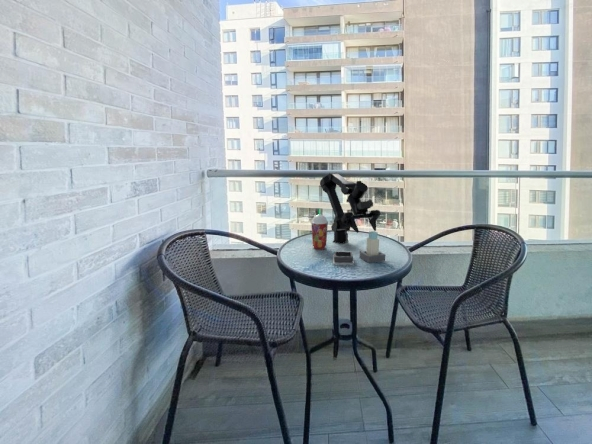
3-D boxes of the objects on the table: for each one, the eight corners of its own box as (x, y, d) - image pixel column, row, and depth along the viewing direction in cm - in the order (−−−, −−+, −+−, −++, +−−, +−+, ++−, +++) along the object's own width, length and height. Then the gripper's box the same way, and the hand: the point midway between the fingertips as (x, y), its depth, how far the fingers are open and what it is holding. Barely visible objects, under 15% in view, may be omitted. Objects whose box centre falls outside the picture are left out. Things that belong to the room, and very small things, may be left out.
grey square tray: (359, 257, 191) (359, 251, 190) (375, 255, 193) (375, 249, 193) (368, 263, 183) (369, 256, 182) (385, 260, 186) (385, 254, 185)
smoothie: (329, 246, 210) (329, 208, 205) (325, 250, 202) (325, 211, 197) (313, 245, 212) (313, 207, 208) (309, 249, 205) (309, 210, 200)
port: (333, 258, 190) (333, 251, 189) (352, 258, 189) (352, 251, 188) (333, 264, 181) (333, 257, 180) (353, 265, 180) (354, 257, 180)
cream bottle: (366, 258, 189) (367, 231, 186) (373, 257, 191) (374, 230, 188) (370, 261, 186) (371, 233, 183) (378, 260, 187) (379, 232, 184)
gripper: (344, 195, 189) (355, 223, 181) (379, 193, 195) (391, 220, 187) (336, 209, 198) (346, 236, 190) (370, 206, 204) (381, 233, 196)
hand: (366, 231), depth 191 cm, fingers open, 9 cm apart
